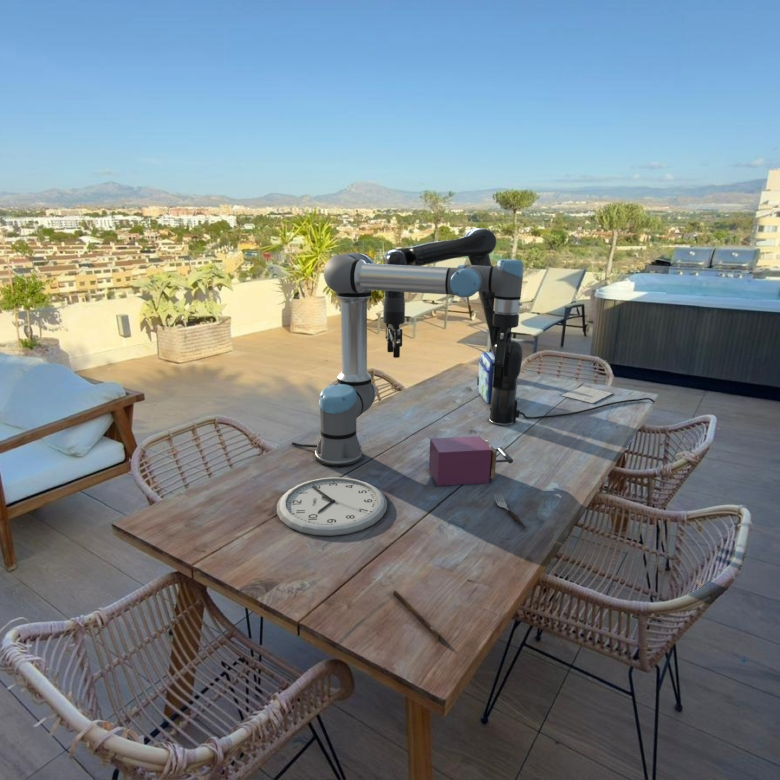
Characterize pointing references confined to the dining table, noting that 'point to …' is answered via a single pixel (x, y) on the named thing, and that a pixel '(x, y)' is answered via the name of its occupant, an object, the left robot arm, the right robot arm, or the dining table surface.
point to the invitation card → (587, 394)
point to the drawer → (493, 458)
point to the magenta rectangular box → (459, 460)
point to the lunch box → (486, 376)
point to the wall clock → (331, 506)
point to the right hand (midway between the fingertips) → (393, 354)
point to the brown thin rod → (416, 614)
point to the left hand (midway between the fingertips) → (500, 381)
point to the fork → (504, 505)
